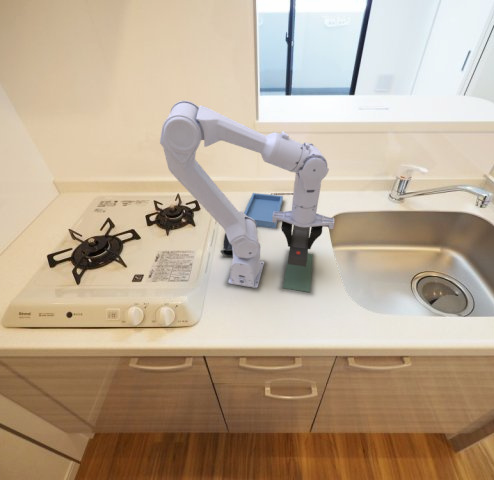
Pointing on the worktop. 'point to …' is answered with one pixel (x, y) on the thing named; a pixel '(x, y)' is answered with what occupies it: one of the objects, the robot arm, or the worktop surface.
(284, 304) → the worktop surface
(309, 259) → the mat
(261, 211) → the box
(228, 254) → the electronic device
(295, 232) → the remote
